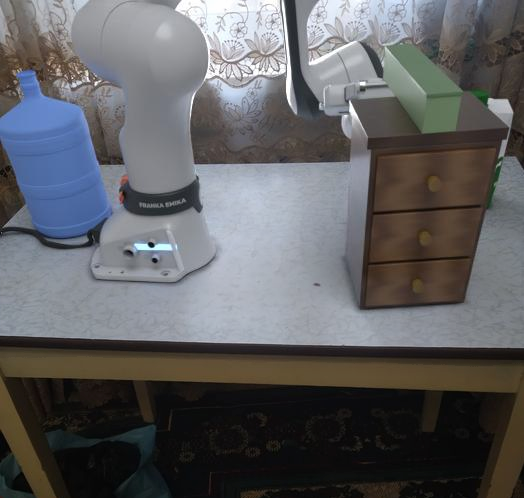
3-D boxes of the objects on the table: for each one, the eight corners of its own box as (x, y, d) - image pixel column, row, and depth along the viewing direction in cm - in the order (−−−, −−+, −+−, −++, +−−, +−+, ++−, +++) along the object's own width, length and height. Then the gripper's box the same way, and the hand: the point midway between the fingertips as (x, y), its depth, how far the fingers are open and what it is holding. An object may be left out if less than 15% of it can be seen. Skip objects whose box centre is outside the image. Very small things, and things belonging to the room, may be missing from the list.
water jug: (119, 228, 105) (77, 75, 86) (38, 247, 101) (-23, 92, 83) (106, 197, 116) (66, 56, 97) (33, 214, 112) (-23, 70, 94)
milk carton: (443, 189, 109) (461, 85, 95) (489, 191, 107) (514, 85, 94) (445, 209, 102) (465, 100, 89) (494, 211, 100) (522, 100, 87)
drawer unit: (357, 316, 79) (370, 143, 62) (342, 257, 92) (349, 99, 74) (471, 309, 79) (515, 132, 61) (440, 251, 91) (469, 90, 74)
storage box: (421, 134, 63) (426, 94, 60) (382, 78, 81) (384, 45, 78) (456, 131, 63) (463, 91, 60) (409, 76, 81) (412, 43, 78)
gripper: (316, 91, 97) (324, 66, 84) (427, 83, 97) (453, 57, 83) (318, 127, 98) (326, 109, 85) (427, 120, 98) (453, 100, 85)
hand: (390, 83), depth 84 cm, fingers open, 8 cm apart
